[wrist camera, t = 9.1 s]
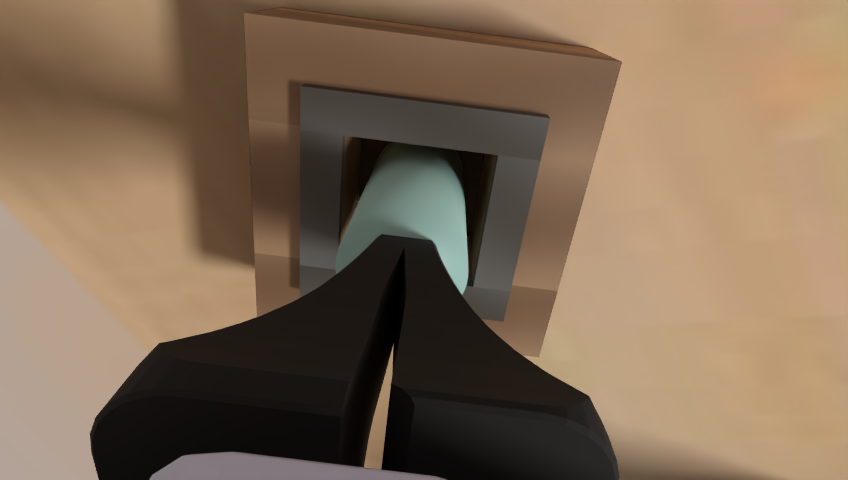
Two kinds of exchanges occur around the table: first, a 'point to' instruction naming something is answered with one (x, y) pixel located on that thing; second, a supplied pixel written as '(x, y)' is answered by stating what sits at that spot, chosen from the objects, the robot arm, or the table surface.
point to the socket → (428, 126)
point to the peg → (413, 205)
